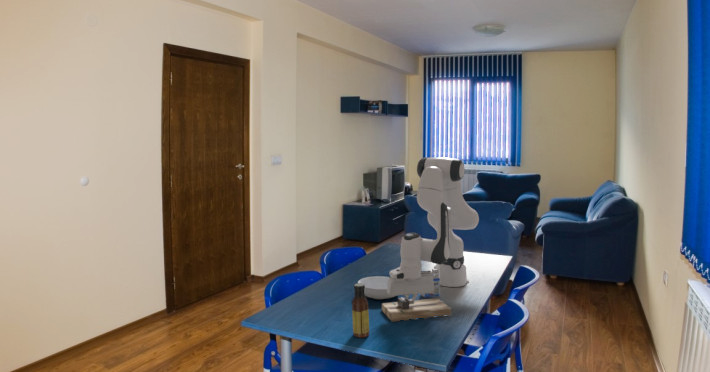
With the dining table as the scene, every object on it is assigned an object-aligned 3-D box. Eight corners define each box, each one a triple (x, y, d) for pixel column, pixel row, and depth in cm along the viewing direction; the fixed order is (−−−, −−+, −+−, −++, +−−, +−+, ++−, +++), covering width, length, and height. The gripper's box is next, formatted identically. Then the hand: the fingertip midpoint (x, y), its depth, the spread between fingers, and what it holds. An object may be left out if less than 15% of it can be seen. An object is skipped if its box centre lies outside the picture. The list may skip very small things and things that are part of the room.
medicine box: (424, 297, 240) (424, 279, 239) (420, 294, 245) (420, 276, 244) (439, 296, 242) (440, 278, 242) (435, 293, 247) (436, 275, 246)
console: (381, 310, 224) (381, 303, 224) (437, 304, 231) (437, 298, 230) (392, 321, 211) (392, 314, 210) (451, 315, 217) (451, 308, 217)
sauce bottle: (368, 331, 200) (368, 281, 198) (369, 338, 194) (369, 286, 192) (351, 332, 200) (351, 282, 198) (352, 338, 194) (352, 287, 192)
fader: (397, 304, 221) (397, 297, 221) (404, 303, 222) (404, 296, 222) (402, 309, 216) (402, 302, 215) (409, 308, 216) (409, 301, 216)
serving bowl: (399, 305, 230) (400, 290, 230) (353, 302, 235) (353, 287, 234) (404, 291, 251) (405, 277, 250) (362, 288, 255) (362, 274, 254)
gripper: (430, 268, 223) (430, 299, 225) (385, 271, 218) (385, 303, 220) (436, 272, 217) (436, 304, 219) (390, 275, 212) (390, 308, 214)
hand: (410, 303), depth 219 cm, fingers closed
